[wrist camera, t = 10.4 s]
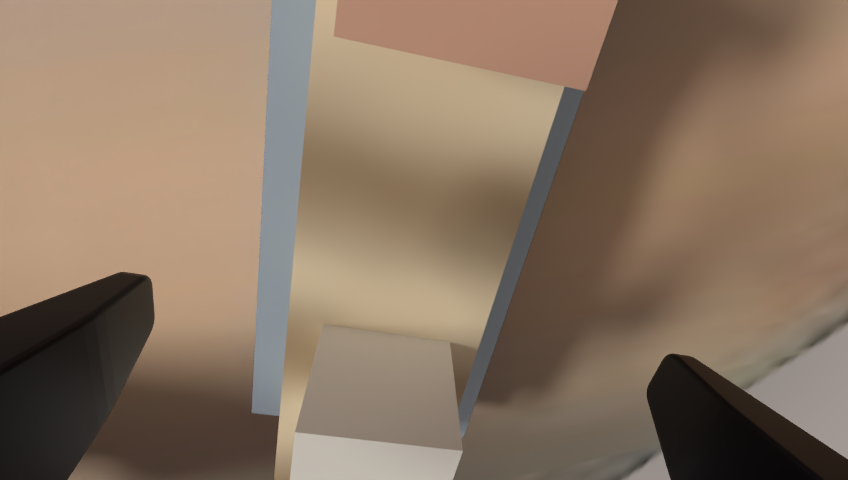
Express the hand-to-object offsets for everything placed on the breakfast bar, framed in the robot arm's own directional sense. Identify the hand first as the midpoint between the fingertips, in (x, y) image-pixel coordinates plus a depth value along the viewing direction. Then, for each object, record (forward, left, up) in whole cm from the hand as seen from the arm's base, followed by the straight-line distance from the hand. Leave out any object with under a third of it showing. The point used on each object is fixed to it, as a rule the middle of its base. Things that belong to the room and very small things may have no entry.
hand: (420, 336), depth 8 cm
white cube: (-6, 0, -5) cm, 8 cm away
